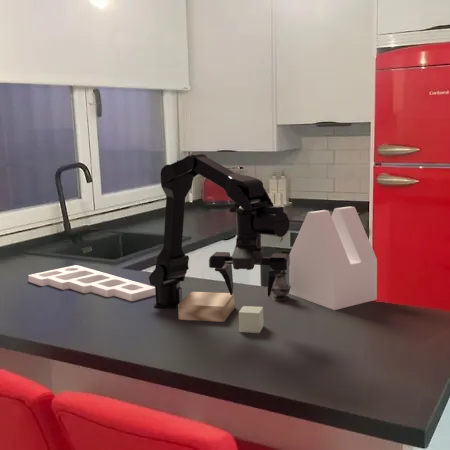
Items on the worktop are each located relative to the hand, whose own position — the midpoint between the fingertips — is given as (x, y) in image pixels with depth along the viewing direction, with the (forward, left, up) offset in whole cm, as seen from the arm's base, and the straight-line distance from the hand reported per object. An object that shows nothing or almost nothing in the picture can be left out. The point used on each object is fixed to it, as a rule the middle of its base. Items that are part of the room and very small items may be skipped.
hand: (250, 295), depth 151 cm
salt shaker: (+3, +26, -9) cm, 27 cm away
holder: (-58, +29, -9) cm, 65 cm away
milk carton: (+17, +30, -9) cm, 36 cm away
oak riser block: (-14, +10, -8) cm, 19 cm away
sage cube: (0, 0, -9) cm, 9 cm away
